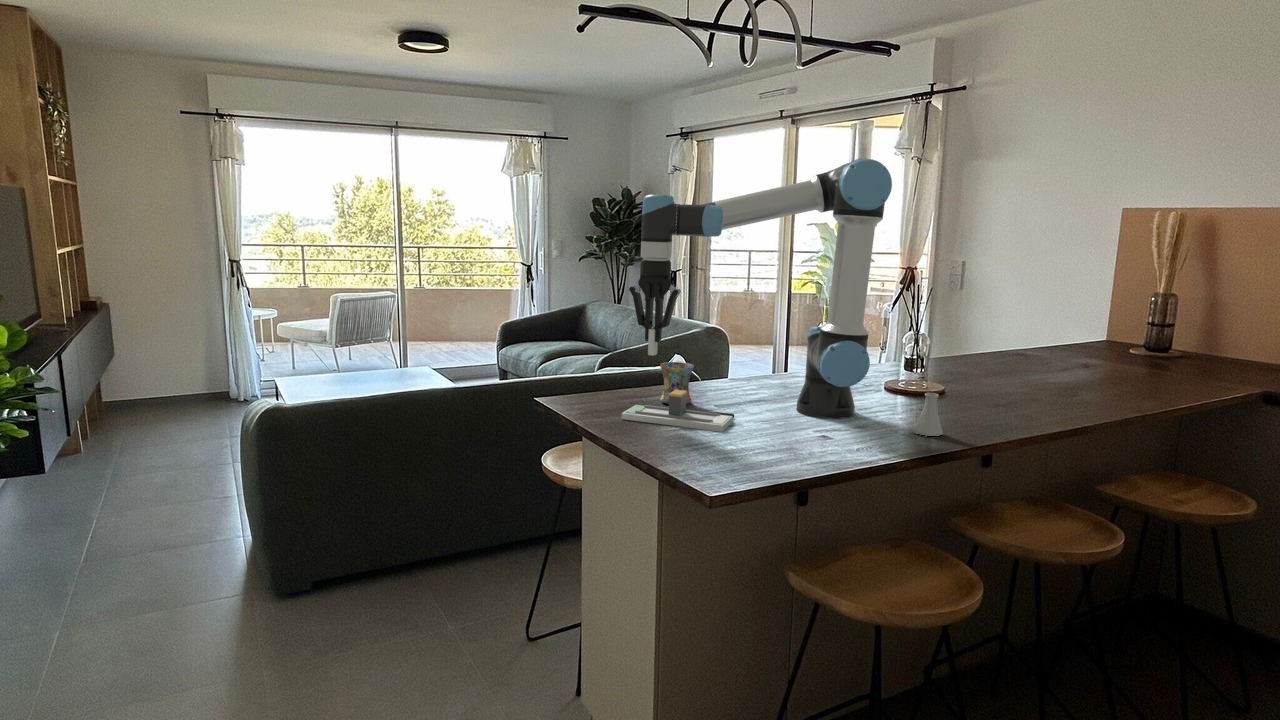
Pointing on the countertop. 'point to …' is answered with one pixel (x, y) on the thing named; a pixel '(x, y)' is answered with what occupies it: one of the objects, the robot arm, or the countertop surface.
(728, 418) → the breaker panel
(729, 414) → the cable
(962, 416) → the countertop surface
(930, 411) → the flask
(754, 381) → the countertop surface
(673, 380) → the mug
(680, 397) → the block
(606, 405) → the countertop surface
